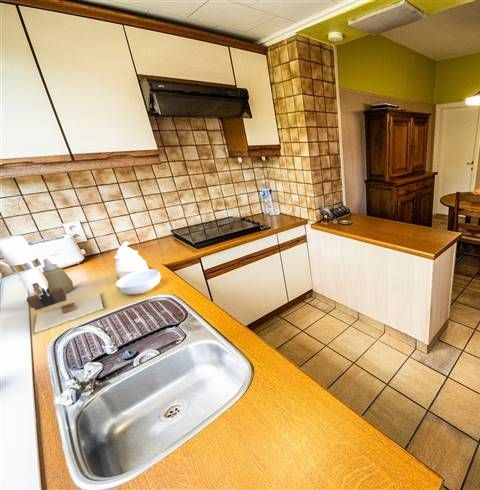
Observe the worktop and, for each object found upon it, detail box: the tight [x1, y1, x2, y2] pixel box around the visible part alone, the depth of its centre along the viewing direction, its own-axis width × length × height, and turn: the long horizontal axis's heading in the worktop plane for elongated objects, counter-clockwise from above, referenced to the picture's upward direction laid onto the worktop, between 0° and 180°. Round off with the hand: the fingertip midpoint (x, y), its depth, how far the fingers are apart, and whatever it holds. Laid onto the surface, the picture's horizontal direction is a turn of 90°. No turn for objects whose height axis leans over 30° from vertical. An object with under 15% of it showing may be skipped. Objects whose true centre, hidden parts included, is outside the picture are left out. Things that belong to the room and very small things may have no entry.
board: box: [34, 292, 105, 334], centre depth 115 cm, size 20×17×1 cm
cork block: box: [61, 302, 77, 314], centre depth 115 cm, size 4×4×2 cm
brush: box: [25, 287, 67, 311], centre depth 113 cm, size 10×3×6 cm, turn 137°
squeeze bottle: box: [41, 258, 74, 294], centre depth 128 cm, size 8×8×18 cm
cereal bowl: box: [115, 268, 162, 296], centre depth 128 cm, size 17×17×7 cm
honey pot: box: [113, 241, 150, 279], centre depth 143 cm, size 13×13×18 cm
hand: (50, 302), depth 114 cm, fingers closed on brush, 3 cm apart
